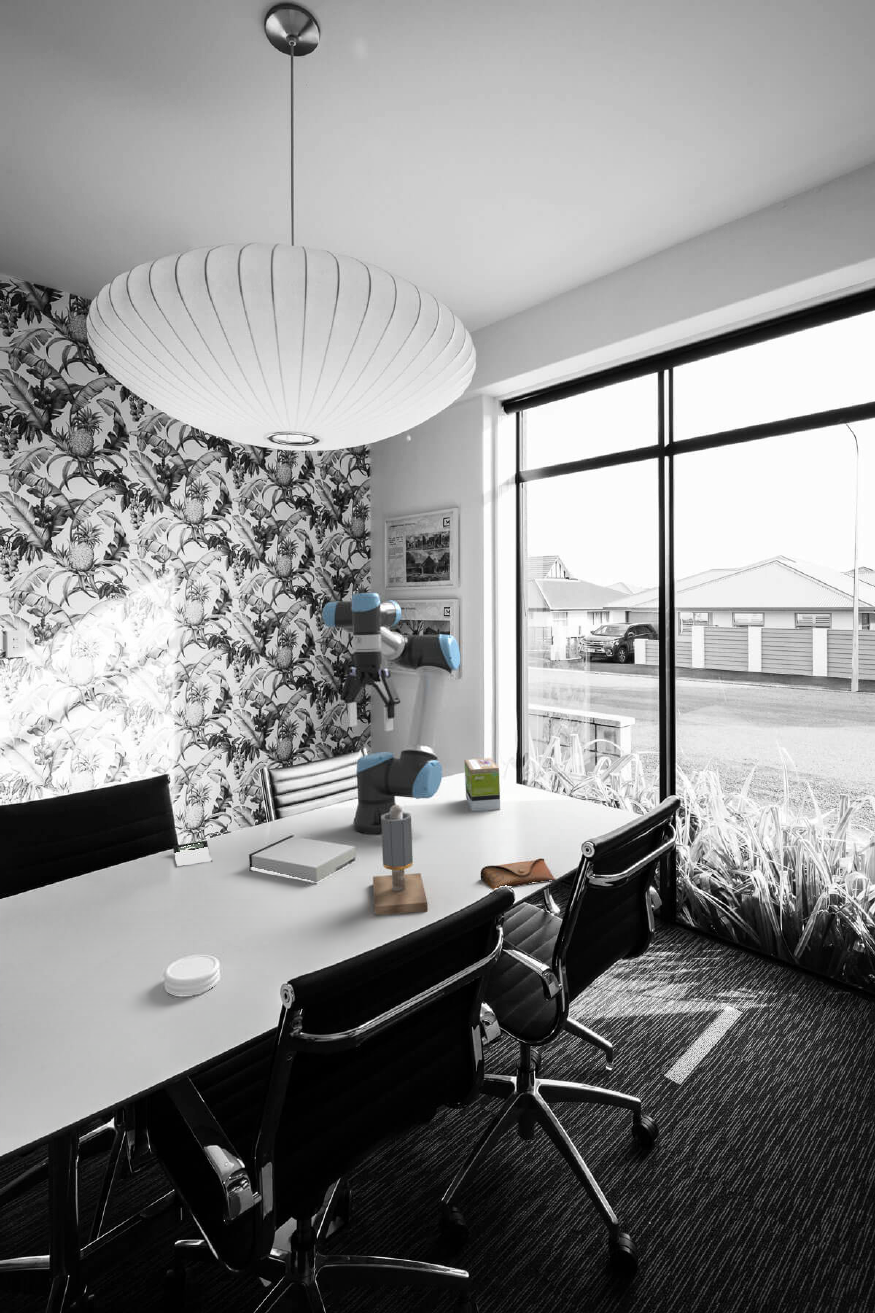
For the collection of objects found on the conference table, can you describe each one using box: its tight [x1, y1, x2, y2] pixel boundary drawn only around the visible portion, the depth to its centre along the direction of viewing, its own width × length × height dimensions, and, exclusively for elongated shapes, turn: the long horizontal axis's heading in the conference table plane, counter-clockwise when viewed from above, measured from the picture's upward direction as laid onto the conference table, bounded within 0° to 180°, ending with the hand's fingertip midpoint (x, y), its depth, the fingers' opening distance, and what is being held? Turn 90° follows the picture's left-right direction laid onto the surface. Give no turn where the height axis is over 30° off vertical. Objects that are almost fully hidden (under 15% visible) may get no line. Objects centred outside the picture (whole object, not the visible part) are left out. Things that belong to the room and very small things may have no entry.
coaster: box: [163, 954, 221, 995], centre depth 135 cm, size 10×10×4 cm
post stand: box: [372, 804, 429, 916], centre depth 171 cm, size 12×18×22 cm, turn 6°
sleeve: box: [381, 811, 414, 867], centre depth 171 cm, size 7×7×11 cm
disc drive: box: [248, 834, 357, 882], centre depth 195 cm, size 18×22×5 cm
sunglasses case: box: [480, 858, 557, 891], centre depth 181 cm, size 18×7×7 cm, turn 108°
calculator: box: [172, 840, 209, 854], centre depth 204 cm, size 9×12×3 cm
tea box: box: [464, 757, 501, 812], centre depth 248 cm, size 15×10×15 cm, turn 6°
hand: (370, 728), depth 195 cm, fingers open, 13 cm apart
